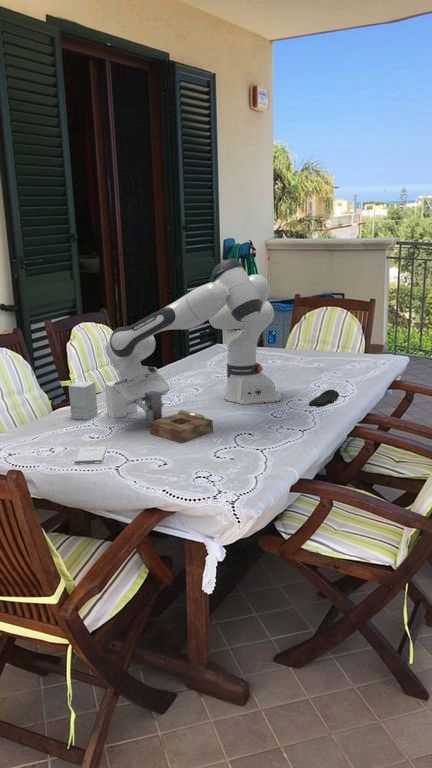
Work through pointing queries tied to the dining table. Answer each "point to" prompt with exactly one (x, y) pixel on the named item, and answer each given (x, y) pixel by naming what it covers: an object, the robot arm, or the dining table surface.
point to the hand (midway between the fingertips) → (154, 408)
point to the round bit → (191, 413)
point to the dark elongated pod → (325, 398)
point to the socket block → (181, 427)
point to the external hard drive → (90, 454)
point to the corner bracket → (116, 403)
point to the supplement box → (83, 400)
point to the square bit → (153, 406)
